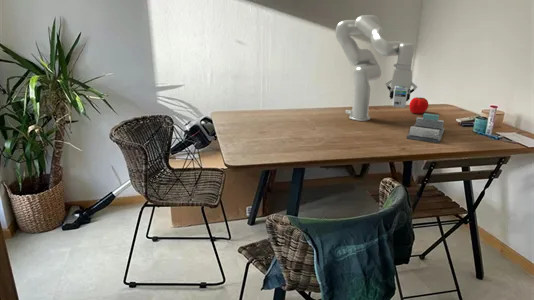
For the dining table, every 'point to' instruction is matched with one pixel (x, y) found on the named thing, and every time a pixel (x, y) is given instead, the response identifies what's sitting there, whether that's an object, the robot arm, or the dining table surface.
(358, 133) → the dining table surface
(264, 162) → the dining table surface
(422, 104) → the tomato
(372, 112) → the dining table surface
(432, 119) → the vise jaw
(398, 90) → the light bulb box
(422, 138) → the base
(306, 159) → the dining table surface
